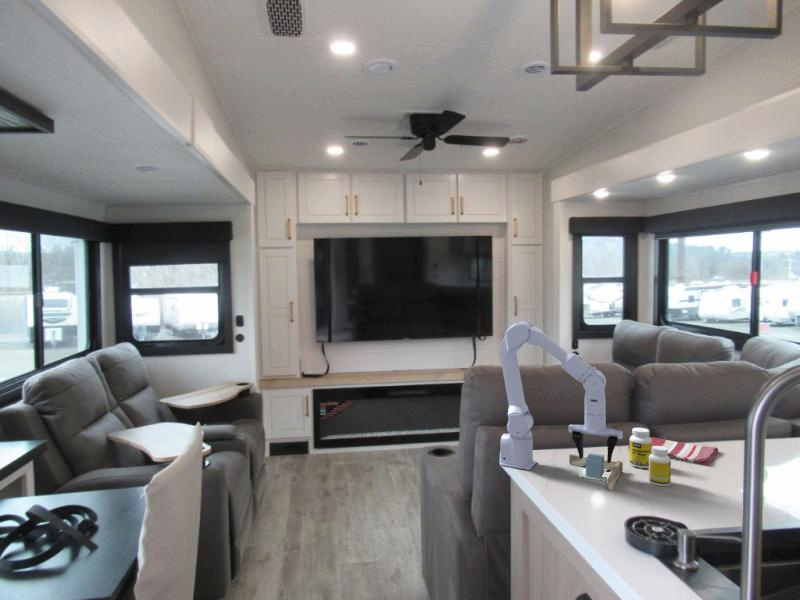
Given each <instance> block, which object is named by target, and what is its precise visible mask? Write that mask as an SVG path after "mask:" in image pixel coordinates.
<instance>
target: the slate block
mask: <svg viewBox="0 0 800 600" xmlns="http://www.w3.org/2000/svg"><path fill="white" fill-rule="evenodd" d="M604 459H605V454H601V453H594V452H589V454H588V455H587V458H586V467H585V468H586V476H588V477H594V478H600V479H601V477H602V475H603V473H604V471H605V470H604Z"/></svg>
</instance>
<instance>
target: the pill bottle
mask: <svg viewBox="0 0 800 600" xmlns="http://www.w3.org/2000/svg"><path fill="white" fill-rule="evenodd" d="M631 434H632V435H630V437H629V446H630V451H629V464H631V465H632V467H633V466H635V467H634V468H636V467H639V468H638V469H641V468H648V469H649V455H651V454H652V439H651V438H650V437H651V436H650V430H649V429H648V428H644V427H633V428H632V431H631ZM631 465H630V466H631Z"/></svg>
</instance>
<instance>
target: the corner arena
mask: <svg viewBox="0 0 800 600" xmlns="http://www.w3.org/2000/svg"><path fill="white" fill-rule="evenodd" d="M587 456H588V455H587ZM587 456H586V455H583V458H582V459H580V458H579V454H576V453H575V454H574V453H569V455H568V458H569V459H568V460H569V465H570V464H575V465H574V466H576V465H583V466H586V458H587ZM623 465H624V463H623V461H619V460H615V459H613V460H612V459H611V462H610V463H607V458H604V469H607V470H612V471H610V472H611V474H610V476H609V478H608V479H607V477H601V479H600V478H594V477H588V476H586V469H583V468H582V470H581V471H580V472H579V474H578V476H579V477H578V478H582V477H584V478H583V479H588V478H589V480H594V479H596V480H595V481H599V480H602V481H601V482H605V481H608V482H607V491H609V490H610V491H609V492H612V491H613V489H614V488H613V487H615V485H616V483H617V481H616V480H618V479H619V477H618V475H619V476H620V474H621V473H620V472H622V471H623V469H624V468H623ZM607 470H606V471H607ZM619 473H620V474H619ZM622 473H623V472H622ZM590 478H591V479H590ZM617 478H618V479H617Z"/></svg>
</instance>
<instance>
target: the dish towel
mask: <svg viewBox="0 0 800 600" xmlns="http://www.w3.org/2000/svg"><path fill="white" fill-rule="evenodd" d="M649 437H650V438H651V439H652V447H653V446H662V447H666V448H667V449H668V454H667V456H668V457H669V458H670V460H673V459H675V460H674V461H678V460H681V461H680V462H683V461H685V462H684V463H689V464H695V465H699V466H705V467H708V466H709V464H710V463H711V462H712V461H713V460H714V459H715V457H716V455H718V454H719V448H718V447H716V446H704V445H703V446H702V445H698V444H697V445H696V444H690V443H684V442H682V441H681V442H680V441H674V440H668V439H665V438H659V437H652V436H649ZM628 449H629V450H630V445H628V447H627V450H628ZM652 454H653V453H652Z"/></svg>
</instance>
